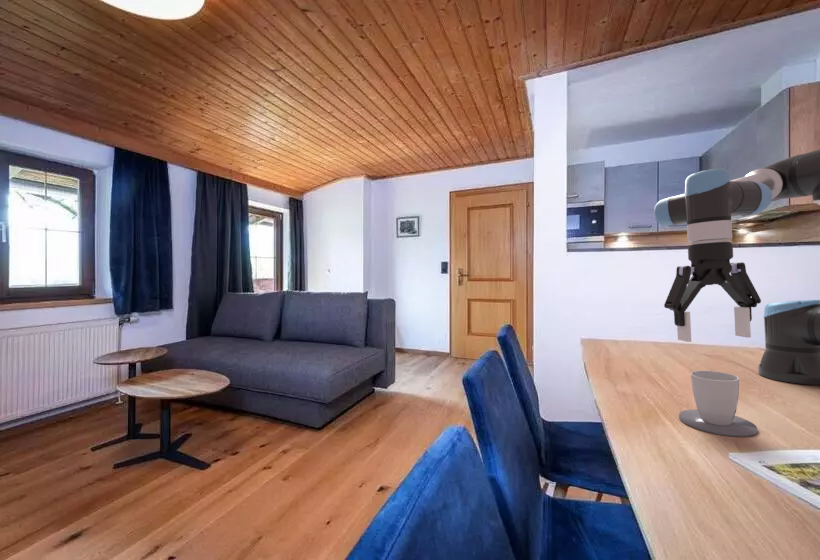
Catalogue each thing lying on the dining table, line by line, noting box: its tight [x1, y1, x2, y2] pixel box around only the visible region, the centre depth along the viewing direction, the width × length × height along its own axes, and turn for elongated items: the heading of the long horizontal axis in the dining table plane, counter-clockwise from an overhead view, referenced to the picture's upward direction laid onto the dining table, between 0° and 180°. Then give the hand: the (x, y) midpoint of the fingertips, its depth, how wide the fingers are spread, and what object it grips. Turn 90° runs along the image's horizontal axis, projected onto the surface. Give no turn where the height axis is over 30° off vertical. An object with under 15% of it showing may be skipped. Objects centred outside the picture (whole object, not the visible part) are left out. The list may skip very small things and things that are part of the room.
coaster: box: [678, 409, 758, 438], centre depth 78 cm, size 13×13×1 cm
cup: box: [690, 370, 740, 425], centre depth 78 cm, size 8×8×10 cm
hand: (713, 338), depth 78 cm, fingers open, 13 cm apart
